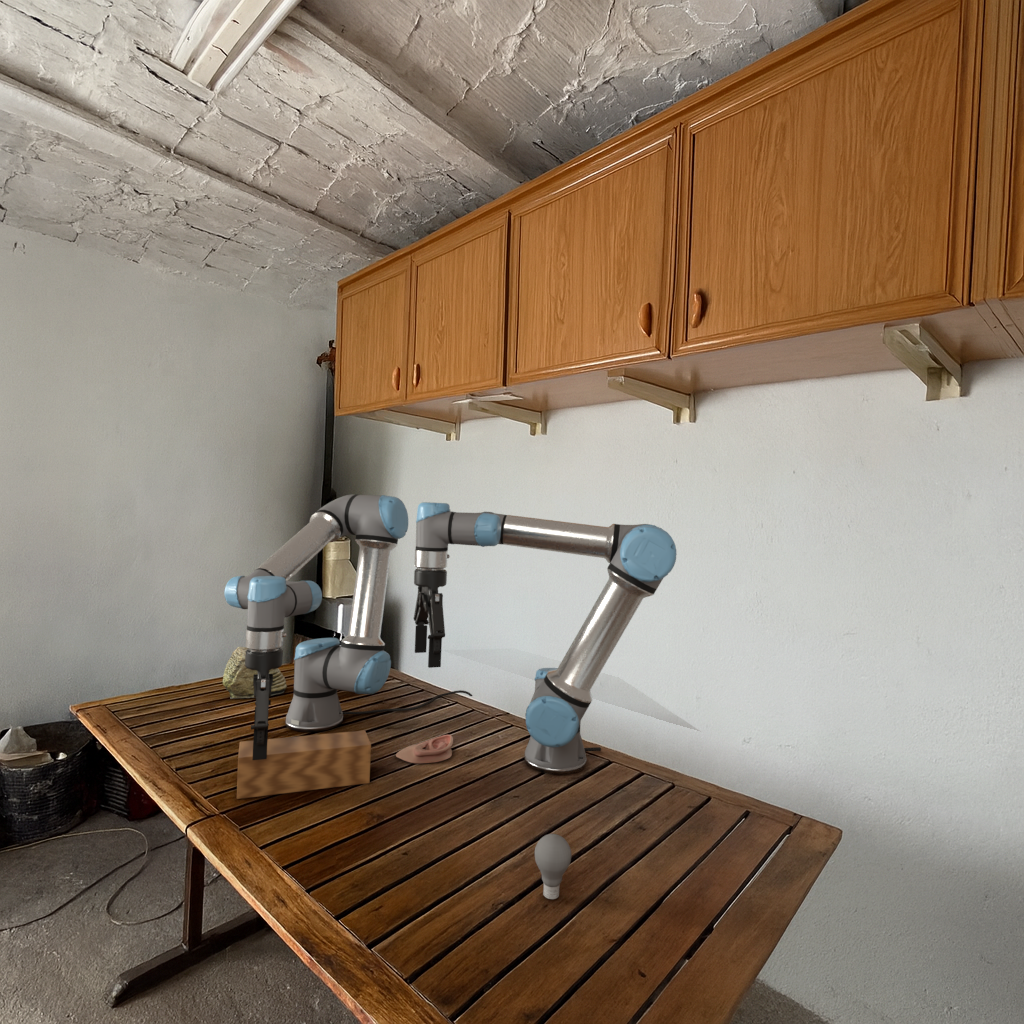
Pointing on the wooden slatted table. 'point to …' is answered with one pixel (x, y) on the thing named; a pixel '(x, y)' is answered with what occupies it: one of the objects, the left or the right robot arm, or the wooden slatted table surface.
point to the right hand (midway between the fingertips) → (427, 659)
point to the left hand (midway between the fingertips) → (259, 747)
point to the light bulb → (552, 862)
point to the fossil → (247, 677)
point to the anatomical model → (428, 750)
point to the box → (304, 764)
